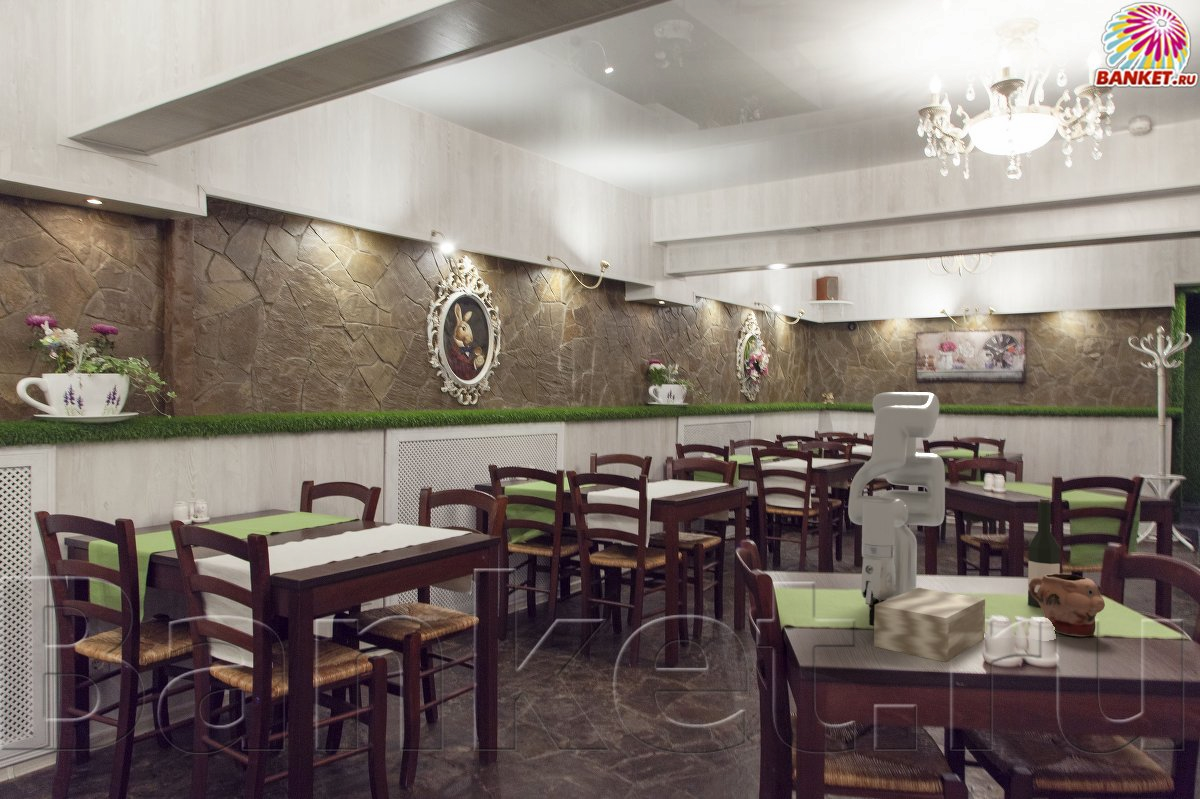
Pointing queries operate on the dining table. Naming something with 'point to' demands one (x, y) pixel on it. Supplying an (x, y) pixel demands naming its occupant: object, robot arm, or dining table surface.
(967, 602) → the mottled beige box
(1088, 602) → the animal face pitcher
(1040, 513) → the wine bottle
